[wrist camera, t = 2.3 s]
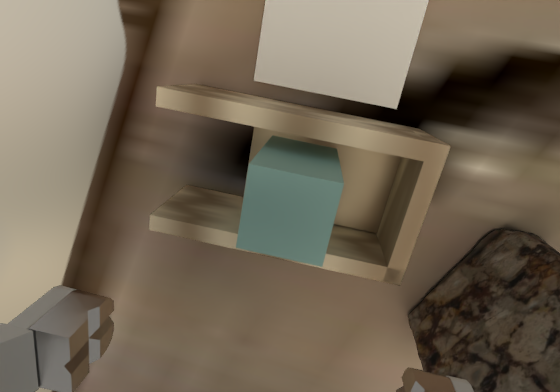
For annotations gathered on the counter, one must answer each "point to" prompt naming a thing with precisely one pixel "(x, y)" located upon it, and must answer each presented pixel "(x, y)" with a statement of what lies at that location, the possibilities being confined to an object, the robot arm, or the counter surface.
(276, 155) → the block
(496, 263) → the stone block
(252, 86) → the counter surface
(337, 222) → the channel
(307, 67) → the mat
